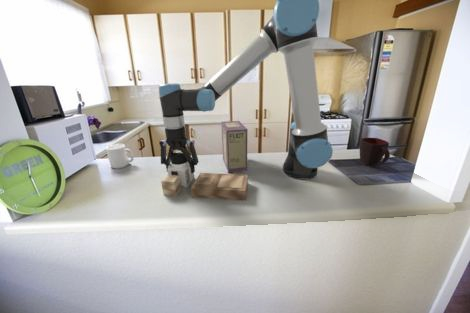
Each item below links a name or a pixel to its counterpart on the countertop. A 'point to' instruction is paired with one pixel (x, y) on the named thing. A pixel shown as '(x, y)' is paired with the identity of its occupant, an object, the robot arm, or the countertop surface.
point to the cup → (118, 155)
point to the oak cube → (171, 185)
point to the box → (234, 146)
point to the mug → (373, 151)
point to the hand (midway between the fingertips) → (182, 178)
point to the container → (180, 168)
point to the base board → (220, 186)
